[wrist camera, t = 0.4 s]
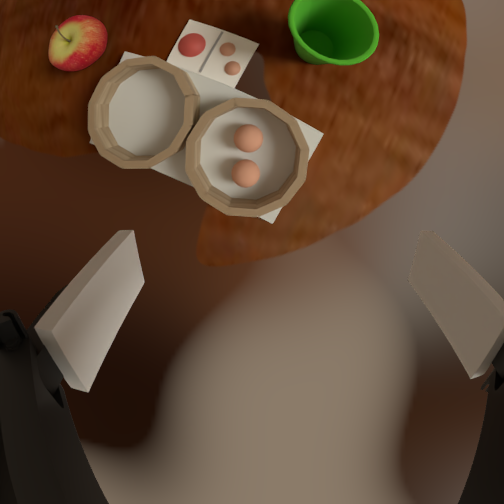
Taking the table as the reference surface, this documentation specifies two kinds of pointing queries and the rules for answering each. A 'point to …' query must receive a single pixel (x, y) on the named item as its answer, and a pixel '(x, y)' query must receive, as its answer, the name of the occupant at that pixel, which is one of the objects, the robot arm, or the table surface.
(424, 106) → the table surface
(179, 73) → the ring
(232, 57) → the card
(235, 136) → the ball
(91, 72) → the table surface
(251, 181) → the ball
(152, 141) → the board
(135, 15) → the table surface
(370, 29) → the cup
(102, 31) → the apple
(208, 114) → the ring
